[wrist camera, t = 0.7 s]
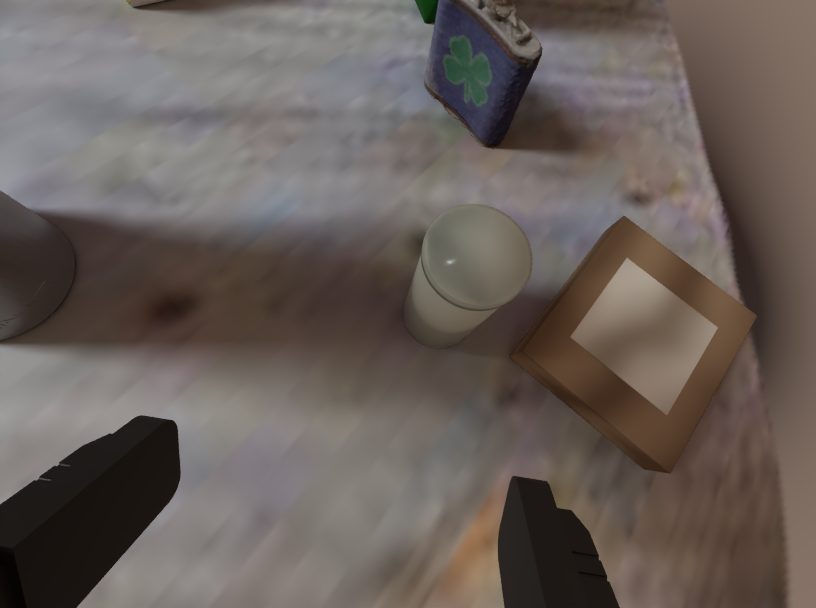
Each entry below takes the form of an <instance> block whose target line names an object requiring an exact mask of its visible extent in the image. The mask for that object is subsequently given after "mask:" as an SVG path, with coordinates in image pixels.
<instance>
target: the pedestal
mask: <svg viewBox="0 0 816 608" xmlns="http://www.w3.org/2000/svg"><path fill="white" fill-rule="evenodd" d="M756 317H757V316H756V315H755V314H754V313H752V312H751V311H750V310H748V309H747V308H746V307H744V306H743V305H742V304H741V303H739V302H738V301H737V300H735V299H734V298H733V297H731V296H730V295H729V294H727V293H726V292H725V291H723V290H722V289H721V288H719V287H718V286H717V285H715V284H714V283H713V282H711V281H710V280H709V279H707V278H706V277H705V276H703V275H702V274H701V273H699V272H698V271H697V270H695V269H694V268H693V267H691V266H690V265H689V264H688V263H686V262H685V261H684V260H682V259H681V258H680V257H678V256H677V255H676V254H674V253H673V252H672V251H670V250H669V249H668V248H666V247H665V246H664V245H662V244H661V243H660V242H658V241H657V240H656V239H654V238H653V237H652V236H650V235H649V234H648V233H646V232H645V231H644V230H642V229H641V228H640V227H638V226H637V225H636V224H635V223H633V222H632V221H631V220H629V219H628V218H627V217H625V216H623V217H622V218H621V219H619V220H618V221H617V222H616V223H614V224H613V225H612V226H611V227H609V228H608V229H607V230H606V231H605V232H604V233H603V235H602V236H601V237H600V239H599V240H598V241H597V243H596V244H595V245H594V246H593V248H592V249H591V250H590V252H589V253H588V254H587V256H586V257H585V258H584V260H583V261H582V262H581V264H580V265H579V266H578V267H577V269H576V270H575V271H574V273H573V274H572V275H571V277H570V278H569V279H568V281H567V282H566V283H565V285H564V286H563V287H562V288H561V290H560V291H559V292H558V294H557V295H556V296H555V298H554V299H553V300H552V302H551V303H550V304H549V305H548V307H547V308H546V309H545V311H544V312H543V313H542V315H541V316H540V317H539V319H538V320H537V321H536V323H535V324H534V325H533V326H532V328H531V329H530V330H529V332H528V333H527V334H526V336H525V337H524V338H523V340H522V341H521V342H520V344H519V345H518V346H517V347H516V349H515V350H514V351H513V353H512V354H511V355H510V358H512V359H513V360H514V361H515V362H516V363H518V364H519V365H520V366H521V367H522V368H524V369H525V370H526V371H527V372H528V373H530V374H531V375H532V376H533V377H534V378H536V379H537V380H538V381H539V382H540V383H542V384H543V385H544V386H545V387H546V388H548V389H549V390H550V391H551V392H552V393H554V394H555V395H556V396H557V397H558V398H560V399H561V400H562V401H563V402H564V403H566V404H567V405H568V406H569V407H570V408H572V409H573V410H574V411H575V412H576V413H578V414H579V415H580V416H581V417H582V418H584V419H585V420H586V421H587V422H588V423H590V424H591V425H592V426H593V427H594V428H596V429H597V430H598V431H599V432H600V433H602V434H603V435H604V436H605V437H606V438H608V439H609V440H610V441H611V442H612V443H614V444H615V445H616V446H617V447H618V448H620V449H621V450H622V451H623V452H624V453H626V454H627V455H628V456H629V457H630V458H632V459H633V460H634V461H635V462H636V463H638V464H639V465H640V466H641V467H642V468H644V469H646V470H652V471H658V472H665V473H671V471H672V470H673V468H674V466H675V464H676V462H677V460H678V459H679V457H680V455H681V453H682V451H683V450H684V448H685V446H686V444H687V442H688V440H689V439H690V437H691V435H692V433H693V431H694V430H695V428H696V426H697V424H698V422H699V420H700V419H701V417H702V415H703V413H704V411H705V410H706V408H707V406H708V404H709V402H710V400H711V399H712V397H713V395H714V393H715V391H716V390H717V388H718V386H719V384H720V382H721V380H722V379H723V377H724V375H725V373H726V371H727V370H728V368H729V366H730V364H731V362H732V360H733V359H734V357H735V355H736V353H737V351H738V350H739V348H740V346H741V344H742V342H743V340H744V339H745V337H746V335H747V333H748V331H749V330H750V328H751V326H752V324H753V322H754V320H755V319H756Z"/></svg>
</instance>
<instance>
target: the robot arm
mask: <svg viewBox="0 0 816 608" xmlns="http://www.w3.org/2000/svg"><path fill="white" fill-rule="evenodd" d="M74 272H75V256H74V252H73V249H72V246H71V244H70V242H69V241H68V239H67V238H66V236H65V234H63V233H62V232H61V231H60V230H59V229H58V228H57V227H56V226H54V225H53V224H51V223H50V222H48V221H47V220H45V219H44V218H42V217H40V216H39V215H37V214H36V213H34V212H33V211H31V210H30V209H28V208H26V207H25V206H23V205H22V204H20V203H19V202H17V201H16V200H14V199H12V198H11V197H10V196H8V195H7V194H5V193H4V192H2V191H0V340H4V339H7V338H11V337H15V336H17V335H19V334H21V333H23V332H26V331H28V330H30V329H32V328H33V327H35V326H36V325H38V324H39V323H41V322H42V321H44V320H45V319H46V318H47V317H48V316H49V315H50V314H51V313H52V312H54V311H55V310H56V309H57V308H58V306H59V305H60V303H61V302H62V301H63V299H64V298H65V297H66V295H67V293H68V291H69V288H70V286H71V284H72V282H73V277H74ZM179 481H180V457H179V443H178V429H177V425H176V423H175V422H174V421H173V420H168V419H161V418H155V417H149V416H142V415H141V416H137V417H135V418H134V419H132V420H131V421H130V422H128V423H127V424H126V425H124V426H123V427H121V428H120V429H119V430H117V431H116V432H115V433H113V434H108V435H106V436H103V437H101V438H99V439H97V440H95V441H92V442H90V443H88V444H86V445H83V446H82V447H80V448H79V449H77V450H76V451H75V452H73V453H72V454H70V455H69V456H68V457H66V458H65V459H63V460H62V461H61V462H59V465H58V466H54V467H52V468H51V469H49V470H48V471H47V472H45V473H44V474H42V475H41V476H40V477H39V479H38V480H37V481H36V480H34V481H33V482H31V483H30V484H28V485H27V486H26V487H24V488H23V489H21V490H20V491H19V492H17V493H16V494H14V495H13V496H12V497H10V498H9V499H7V500H6V501H5V502H3V503H2V504H0V608H77V606H78V605H79V604H80V603H81V602H82V601H83V600H84V598H85V597H86V596H87V595H88V594H89V593H90V592H91V590H92V589H93V588H94V587H95V586H96V585H97V584H98V583H99V581H100V580H101V579H102V578H103V577H104V576H105V575H106V573H107V572H108V571H109V570H110V569H111V568H112V567H113V565H114V564H115V563H116V562H117V561H118V560H119V559H120V557H121V556H122V555H123V554H124V553H125V552H126V551H127V550H128V548H129V547H130V546H131V545H132V544H133V543H134V542H135V540H136V539H137V538H138V537H139V536H140V535H141V534H142V532H143V531H144V530H145V529H146V528H147V527H148V526H149V525H150V523H151V522H152V521H153V520H154V519H155V518H156V517H157V515H158V514H159V513H160V512H161V511H162V510H163V509H164V507H165V506H166V505H167V504H168V503H169V502H170V500H171V499H172V497H173V496H174V494H175V492H176V490H177V487H178V484H179ZM498 561H499V568H500V576H501V584H502V591H503V599H504V607H505V608H620V607H619V605H618V602H617V600H616V597H615V595H614V592H613V590H612V587H611V585H610V582H608V581H607V575H606V572H605V570H604V567H603V565H602V562H601V561H600V560H599V555H598V553H597V550H596V548H595V545H594V543H593V540H592V538H591V535H590V533H589V531H588V530H587V529H586V527H585V526H584V525H583V524H582V523H581V521H580V520H579V519H578V518H577V516H576V515H575V514H574V513H573V512H572V510H566V509H560V508H557V506H556V503H555V500H554V497H553V494H552V491H551V488H550V486H549V484H548V482H547V481H542V480H536V479H530V478H523V477H517V476H513V477H512V478H511V481H510V484H509V489H508V493H507V498H506V502H505V506H504V511H503V515H502V519H501V524H500V529H499V536H498Z"/></svg>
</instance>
